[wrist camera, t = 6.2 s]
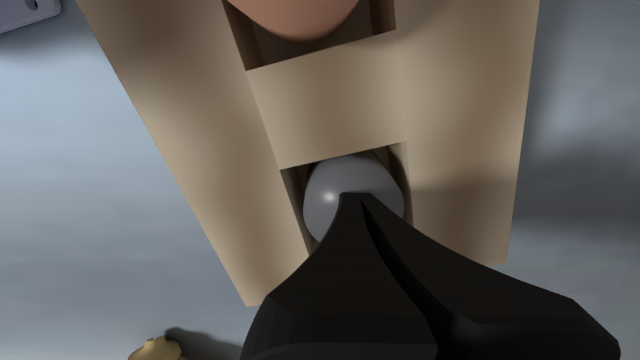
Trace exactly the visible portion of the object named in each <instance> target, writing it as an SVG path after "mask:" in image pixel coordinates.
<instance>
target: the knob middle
mask: <svg viewBox="0 0 640 360" xmlns="http://www.w3.org/2000/svg"><path fill="white" fill-rule="evenodd" d="M228 1H229V2H230V3H231V4H232V5H234V6H235V7H236V8H238V9H239V10H240V11H242V12H243V13H244V14H246V15H247V16H248V17H250V18H251V19H252V20H254V21H255V22H256V23H258V24H259V25H260V26H262V27H263V28H264V29H266V30H267V31H268V32H270V33H271V34H273V35H275V36H276V37H278V38H281V39H283V40H286V41H290V42H296V43H309V42H314V41H318V40H320V39H323V38H325V37H327V36H329V35H331V34H332V33H333V32H335V31H336V30H337V29H339V28H340V27H341V26H342V25H343V24H344V23H345V21H346V20H347V19H348V18H349V16H350V15H351V13H352V12H353V10H354V9H355V7H356V5H357V3H358V2H359V0H228Z"/></svg>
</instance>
